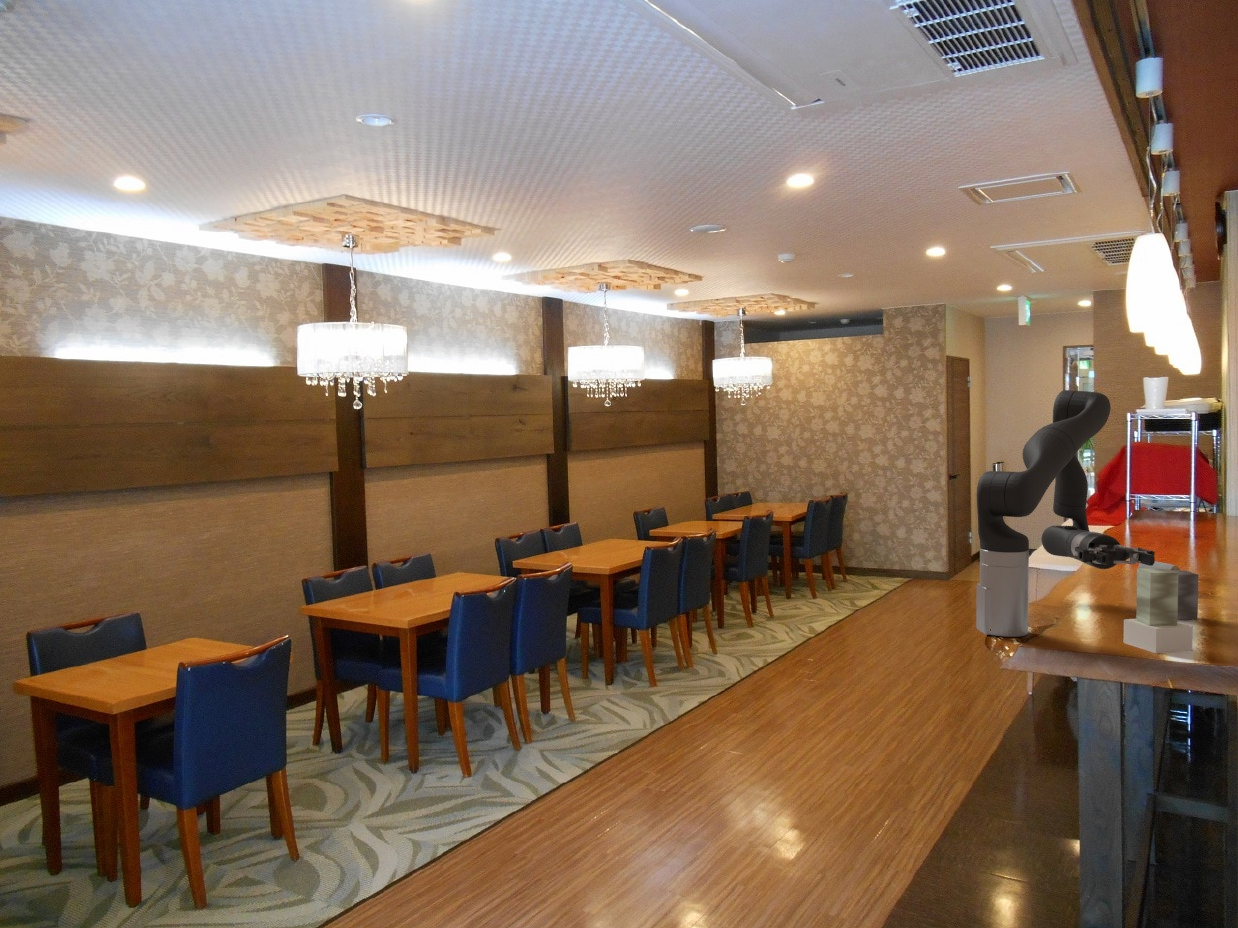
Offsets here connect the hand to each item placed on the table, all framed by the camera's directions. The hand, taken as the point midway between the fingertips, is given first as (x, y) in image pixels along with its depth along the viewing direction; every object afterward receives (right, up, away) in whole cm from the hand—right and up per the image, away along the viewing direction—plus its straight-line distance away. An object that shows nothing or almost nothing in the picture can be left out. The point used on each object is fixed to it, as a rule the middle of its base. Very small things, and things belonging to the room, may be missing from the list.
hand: (1129, 560), depth 180 cm
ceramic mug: (+33, -13, +44) cm, 56 cm away
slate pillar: (+19, -14, +14) cm, 27 cm away
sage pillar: (-1, -11, -11) cm, 15 cm away
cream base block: (0, -16, -10) cm, 19 cm away
